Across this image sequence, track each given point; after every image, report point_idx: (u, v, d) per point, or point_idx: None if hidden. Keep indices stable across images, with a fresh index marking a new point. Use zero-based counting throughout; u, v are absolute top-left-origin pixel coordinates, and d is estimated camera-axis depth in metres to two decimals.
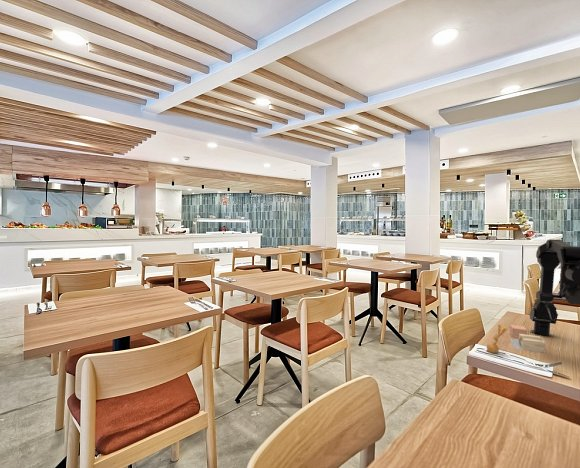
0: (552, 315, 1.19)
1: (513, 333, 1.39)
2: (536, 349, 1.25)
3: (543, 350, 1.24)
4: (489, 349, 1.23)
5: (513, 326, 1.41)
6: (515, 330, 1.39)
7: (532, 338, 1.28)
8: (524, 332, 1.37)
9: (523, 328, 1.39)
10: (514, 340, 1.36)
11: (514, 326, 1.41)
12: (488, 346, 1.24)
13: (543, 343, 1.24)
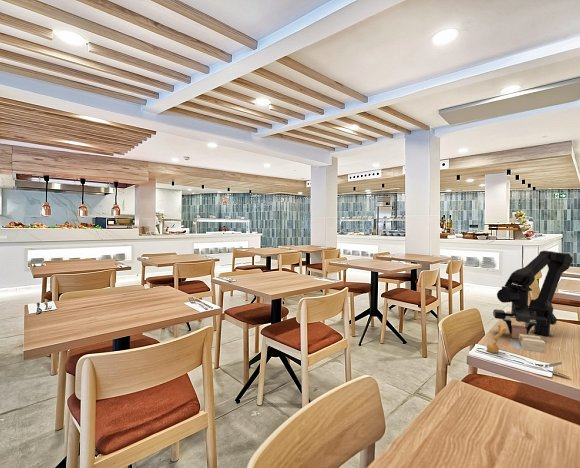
0: (510, 331, 1.41)
1: (513, 333, 1.39)
2: (536, 349, 1.25)
3: (543, 350, 1.24)
4: (489, 349, 1.23)
5: (513, 326, 1.41)
6: (515, 330, 1.39)
7: (532, 338, 1.28)
8: (524, 332, 1.37)
9: (523, 328, 1.39)
10: (514, 340, 1.36)
11: (514, 326, 1.41)
12: (488, 346, 1.24)
13: (543, 343, 1.24)
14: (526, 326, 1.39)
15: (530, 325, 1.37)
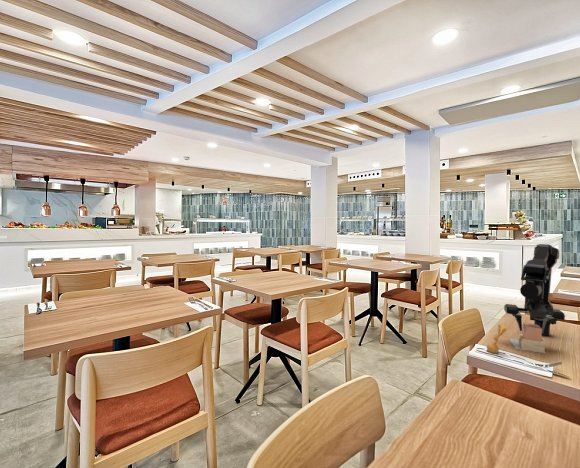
0: (520, 327, 1.29)
1: (527, 332, 1.27)
2: (536, 349, 1.25)
3: (543, 350, 1.24)
4: (489, 349, 1.23)
5: (526, 325, 1.29)
6: (529, 329, 1.27)
7: None
8: (539, 331, 1.25)
9: (538, 327, 1.27)
10: (514, 340, 1.36)
11: (527, 325, 1.29)
12: (488, 346, 1.24)
13: (543, 343, 1.24)
14: (544, 322, 1.26)
15: (549, 321, 1.24)
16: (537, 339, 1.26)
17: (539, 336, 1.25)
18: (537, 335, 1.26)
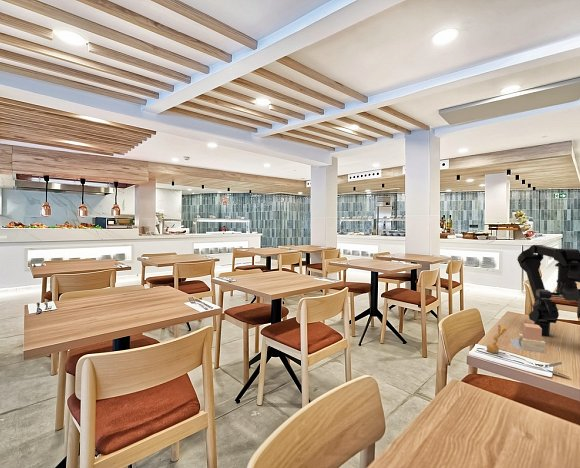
0: (550, 311, 1.33)
1: (527, 332, 1.27)
2: (536, 349, 1.25)
3: (543, 350, 1.24)
4: (489, 349, 1.23)
5: (526, 325, 1.29)
6: (529, 329, 1.27)
7: None
8: (539, 331, 1.25)
9: (538, 327, 1.27)
10: (514, 340, 1.36)
11: (527, 325, 1.29)
12: (488, 346, 1.24)
13: (543, 343, 1.24)
14: (579, 306, 1.30)
15: None
16: (537, 339, 1.26)
17: (539, 336, 1.25)
18: (537, 335, 1.26)
